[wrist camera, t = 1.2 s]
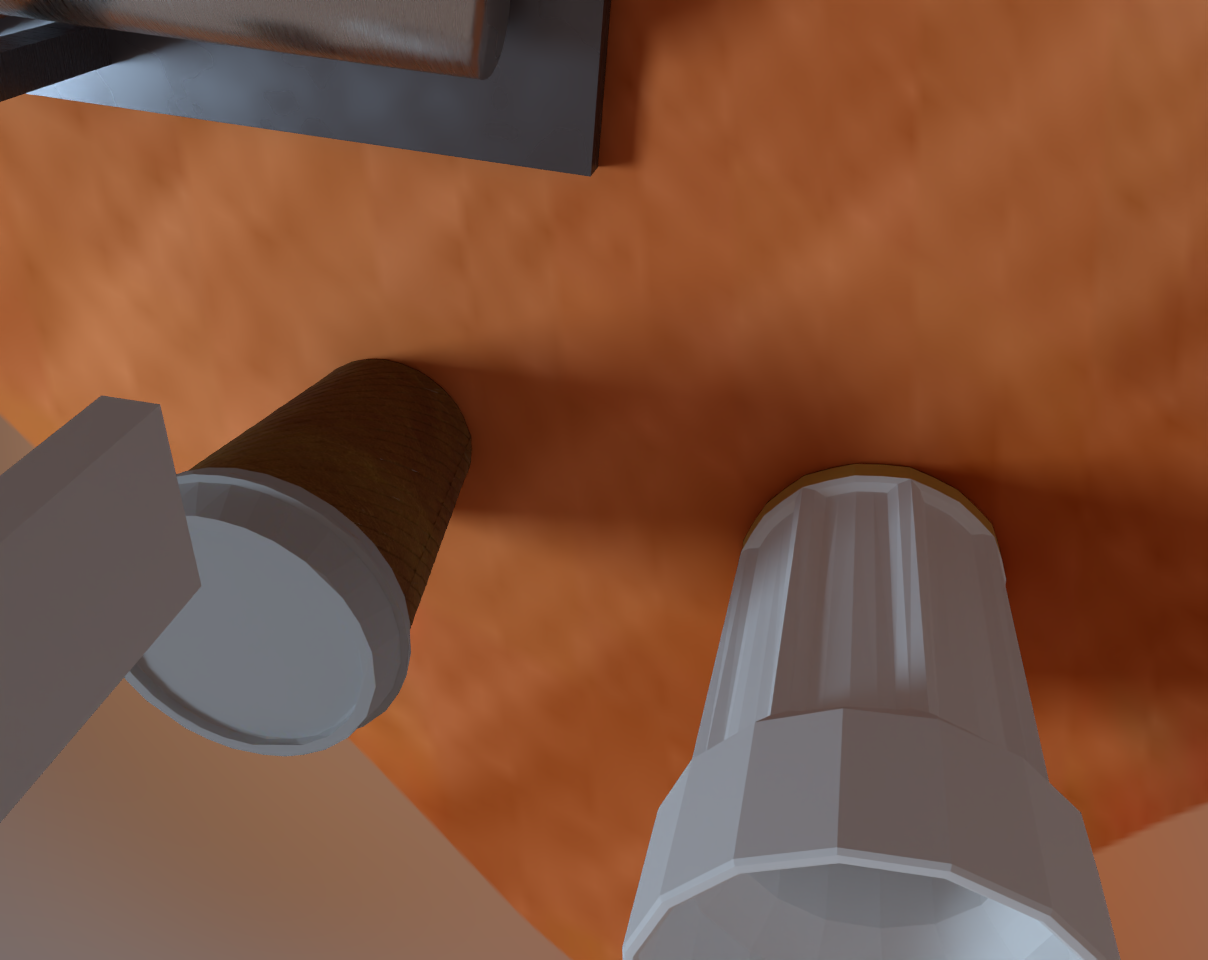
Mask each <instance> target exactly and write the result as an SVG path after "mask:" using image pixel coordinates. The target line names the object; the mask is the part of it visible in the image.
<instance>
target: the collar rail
mask: <svg viewBox="0 0 1208 960" xmlns="http://www.w3.org/2000/svg"><path fill="white" fill-rule="evenodd" d="M610 5H611V0H510V10H509V18H508V25H507V31H506V36H505V41H504V45H503V49H502V52H501V55H500V58H499V61H498V63H497V66H496V68H495V70H494V72H493V73H492V74H491V76H490V77H489V78H488V79H485V80H479V79H471V78H464V77H457V76H449V75H442V74H435V73H427V72H420V71H413V70H405V69H398V68H391V67H383V66H376V65H369V64H361V63H354V62H347V61H339V60H332V59H325V58H317V57H310V56H303V55H295V54H288V53H281V52H273V51H266V50H259V49H251V48H244V47H237V46H229V45H222V44H215V43H207V42H200V41H193V40H185V39H178V38H171V37H163V36H156V35H149V34H142V33H134V32H127V31H120V30H112V29H105V28H98V27H90V26H83V25H76V24H68V23H61V22H54V21H46V20H39V19H32V18H24V17H17V16H8V17H5V18H1V19H0V102H1V101H4V100H7V99H10V98H13V97H16V96H19V95H22V94H25V93H26V94H33V95H40V96H46V97H53V98H60V99H67V100H74V101H80V102H87V103H94V104H101V105H108V106H114V107H121V108H128V109H135V110H142V111H149V112H155V113H162V114H169V115H176V116H183V117H189V118H196V119H203V120H210V121H217V122H223V123H230V124H237V125H244V126H251V127H257V128H264V129H271V130H278V131H285V132H292V133H298V134H305V135H312V136H319V137H326V138H332V139H339V140H346V141H353V142H360V143H366V144H373V145H380V146H387V147H394V148H401V149H407V150H414V151H421V152H428V153H435V154H441V155H448V156H455V157H462V158H469V159H475V160H482V161H489V162H496V163H503V164H509V165H516V166H523V167H530V168H537V169H544V170H550V171H557V172H564V173H571V174H578V175H584V176H591V175H592V174H593V173H594V171H595V170H596V169H597V168H598V158H599V145H600V133H601V120H602V107H603V94H604V82H605V69H606V56H607V43H608V31H609V18H610Z"/></svg>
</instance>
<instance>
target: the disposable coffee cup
mask: <svg viewBox="0 0 1208 960" xmlns="http://www.w3.org/2000/svg"><path fill="white" fill-rule="evenodd" d="M471 450H472V449H471V437H470V434H469V431H468V429H467V426H466V423H465V420H464V417H463V416H462V414H461V412H460V410H459V409H458V407H457V405H456V404H455V403H454V401H453V400H452V399H451V398H450V397H449V395H448V394H447V393H446V392H445V391H444V390H443V389H442V388H441V387H439V386H438V385H437V384H436V383H435V382H433V381H432V380H431V379H430V378H429V377H427V376H425V375H424V374H422V373H420V372H419V371H417V370H415V369H412V368H410V367H408V366H405V365H403V364H400V363H396V362H391V361H387V360H376V359H366V360H360V361H354V362H351V363H348V364H346V365H344V366H341V367H339V368H337V369H335V370H334V371H333V372H331V373H330V374H329V375H327V376H326V377H325V378H323V379H322V380H320V381H319V382H317V383H316V384H315V385H313V386H311V387H310V388H308V389H307V390H305V391H304V392H303V393H301V394H300V395H298V396H297V397H295V398H294V399H292V400H291V401H289V402H288V403H286V404H285V405H283V406H282V407H280V408H278V409H277V410H276V411H274V412H273V413H272V414H270V415H269V416H267V417H266V418H265V419H263V420H262V421H260V422H259V423H257V424H256V425H254V426H253V427H251V428H249V429H248V430H246V431H245V432H244V433H242V434H241V435H240V436H238V437H237V438H235V439H233V440H232V441H230V442H229V443H228V444H226V445H224V446H223V447H222V448H220V449H219V450H217V451H216V452H214V453H213V454H211V455H210V456H209V457H207V458H206V459H204V460H203V461H201V462H199V463H198V464H197V465H195V466H194V467H193V468H191V469H190V470H189V471H185V472H182V473H180V474H176V477H177V481H178V485H179V490H180V494H181V498H182V503H183V507H184V511H185V516H186V520H187V525H188V529H189V533H190V538H191V542H192V546H193V551H194V555H195V559H196V564H197V568H198V573H199V577H200V581H201V587H200V589H199V590H198V591H197V592H196V593H195V594H194V596H193V597H192V598H191V599H190V600H189V602H188V603H187V604H186V605H185V606H184V607H183V609H182V610H181V611H180V612H179V613H178V614H177V616H176V617H175V618H174V619H173V620H172V622H171V623H170V624H169V625H168V626H167V627H166V629H165V630H164V631H163V632H162V633H161V634H160V636H159V637H158V638H157V639H156V640H155V641H154V643H153V644H152V645H151V646H150V647H149V649H148V650H147V651H146V652H145V653H144V654H143V656H142V657H141V658H140V659H139V660H138V661H137V663H136V664H135V665H134V666H133V667H132V669H131V670H130V671H129V672H128V673H127V674H126V676H125V677H124V678H125V679H126V680H127V681H128V682H129V683H130V684H131V685H132V686H133V687H134V688H135V689H136V690H137V691H138V692H139V693H140V694H141V695H142V696H143V697H144V698H145V699H146V700H147V701H148V702H149V703H151V704H152V705H154V706H155V707H157V708H158V709H160V710H161V711H162V712H164V713H165V714H166V715H168V716H169V717H171V718H172V719H174V720H175V721H176V722H178V723H179V724H180V725H182V726H183V727H185V728H187V729H189V730H191V731H193V732H195V733H197V734H199V735H201V736H203V737H205V738H207V739H209V740H212V741H215V742H217V743H220V744H222V745H225V746H228V747H230V748H233V749H238V750H243V751H248V752H253V753H258V754H263V755H275V756H293V755H304V754H308V753H313V752H317V751H321V750H325V749H327V748H329V747H331V746H333V745H335V744H337V743H338V742H340V741H342V740H344V739H346V738H348V737H349V736H350V735H351V734H352V733H353V732H354V731H355V730H356V729H357V728H360V727H363V726H365V725H366V724H367V723H369V722H370V721H372V720H373V719H375V718H376V717H377V716H379V715H380V714H382V713H383V712H384V711H386V710H387V708H388V707H389V705H390V704H391V703H392V701H393V700H394V699H395V697H396V696H397V695H398V693H399V691H400V689H401V687H402V685H403V682H404V680H405V678H406V675H407V670H408V665H409V659H410V654H411V646H410V628H411V625H412V623H413V620H414V616H415V613H416V611H417V608H418V606H419V603H420V601H421V597H422V595H423V592H424V590H425V586H426V585H427V582H428V578H429V575H430V573H431V570H432V567H433V563H434V562H435V559H436V556H437V553H438V551H439V548H440V545H441V542H442V540H443V537H444V534H445V531H446V529H447V526H448V523H449V520H450V518H451V515H452V512H453V509H454V507H455V504H456V501H457V498H458V495H459V492H460V489H461V487H462V485H463V482H464V479H465V477H466V475H467V473H468V469H469V466H470V462H471Z"/></svg>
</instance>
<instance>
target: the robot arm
mask: <svg viewBox="0 0 1208 960" xmlns="http://www.w3.org/2000/svg"><path fill="white" fill-rule="evenodd" d="M200 587H201V581H200V577H199V573H198V568H197V564H196V559H195V555H194V551H193V546H192V542H191V538H190V533H189V529H188V525H187V520H186V516H185V511H184V507H183V503H182V498H181V494H180V490H179V485H178V481H177V477H176V472H175V468H174V463H173V459H172V455H171V450H170V446H169V442H168V437H167V433H166V428H165V424H164V420H163V415H162V411H161V407H160V404H153V403H147V402H140V401H134V400H127V399H121V398H114V397H108V396H100V397H99V398H98V399H97V400H95V401H94V402H93V403H92V404H90V405H89V406H88V407H86V408H85V409H84V410H83V411H81V412H80V413H79V414H78V415H76V416H75V417H74V418H73V419H71V420H70V421H69V422H67V423H66V424H65V425H64V426H62V427H61V428H60V429H59V430H57V431H56V432H55V433H54V434H52V435H51V436H50V437H48V438H47V439H46V440H45V441H43V442H42V443H41V444H40V445H38V446H37V447H36V448H35V449H33V450H32V451H31V452H30V453H28V454H27V455H26V456H24V457H23V458H22V459H21V460H19V461H18V462H17V463H16V464H14V465H13V466H12V467H11V468H9V469H8V470H7V471H6V472H4V473H3V474H2V475H1V476H0V823H1V821H2V820H3V819H4V818H5V817H6V816H7V814H8V813H9V812H10V811H11V810H12V808H13V807H14V806H15V805H16V804H17V803H18V801H19V800H20V799H21V798H22V797H23V796H24V794H25V793H26V792H27V791H28V790H29V788H30V787H31V786H32V785H33V784H34V782H35V781H36V780H37V779H38V778H39V777H40V775H41V774H42V773H43V772H44V771H45V770H46V768H47V767H48V766H49V765H50V764H51V763H52V761H53V760H54V759H55V758H56V757H57V755H58V754H59V753H60V752H61V751H62V750H63V749H64V747H65V746H66V745H67V744H68V743H69V741H70V740H71V739H72V738H73V737H74V736H75V734H76V733H77V732H78V731H79V730H80V729H81V727H82V726H83V725H84V724H85V723H86V721H87V720H88V719H89V718H90V717H91V716H92V714H93V713H94V712H95V711H96V710H97V708H98V707H99V706H100V705H101V704H102V703H103V701H104V700H105V699H106V698H107V697H108V695H109V694H110V693H111V692H112V691H113V690H114V688H115V687H116V686H117V685H118V684H119V683H120V681H121V680H122V679H123V678H124V677H125V676H126V674H127V673H128V672H129V671H130V670H131V669H132V667H133V666H134V665H135V664H136V663H137V661H138V660H139V659H140V658H141V657H142V656H143V654H144V653H145V652H146V651H147V650H148V649H149V647H150V646H151V645H152V644H153V643H154V641H155V640H156V639H157V638H158V637H159V636H160V634H161V633H162V632H163V631H164V630H165V629H166V627H167V626H168V625H169V624H170V623H171V622H172V620H173V619H174V618H175V617H176V616H177V614H178V613H179V612H180V611H181V610H182V609H183V607H184V606H185V605H186V604H187V603H188V602H189V600H190V599H191V598H192V597H193V596H194V594H195V593H196V592H197V591H198V590H199V589H200Z"/></svg>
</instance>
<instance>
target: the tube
mask: <svg viewBox="0 0 1208 960" xmlns="http://www.w3.org/2000/svg"><path fill="white" fill-rule="evenodd" d="M509 10H510V0H0V19H1V18H5V17H8V16H17V17H24V18H32V19H39V20H46V21H54V22H61V23H68V24H76V25H83V26H90V27H98V28H105V29H112V30H120V31H127V32H134V33H142V34H149V35H156V36H163V37H171V38H178V39H185V40H193V41H200V42H207V43H215V44H222V45H229V46H237V47H244V48H251V49H259V50H266V51H273V52H281V53H288V54H295V55H303V56H310V57H317V58H325V59H332V60H339V61H347V62H354V63H361V64H369V65H376V66H383V67H391V68H398V69H405V70H413V71H420V72H427V73H435V74H442V75H449V76H457V77H464V78H471V79H479V80H485V79H488V78H489V77H490V76H491V74H492V73H493V72H494V70H495V68H496V66H497V63H498V61H499V58H500V55H501V52H502V49H503V45H504V41H505V36H506V31H507V25H508V18H509Z"/></svg>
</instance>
